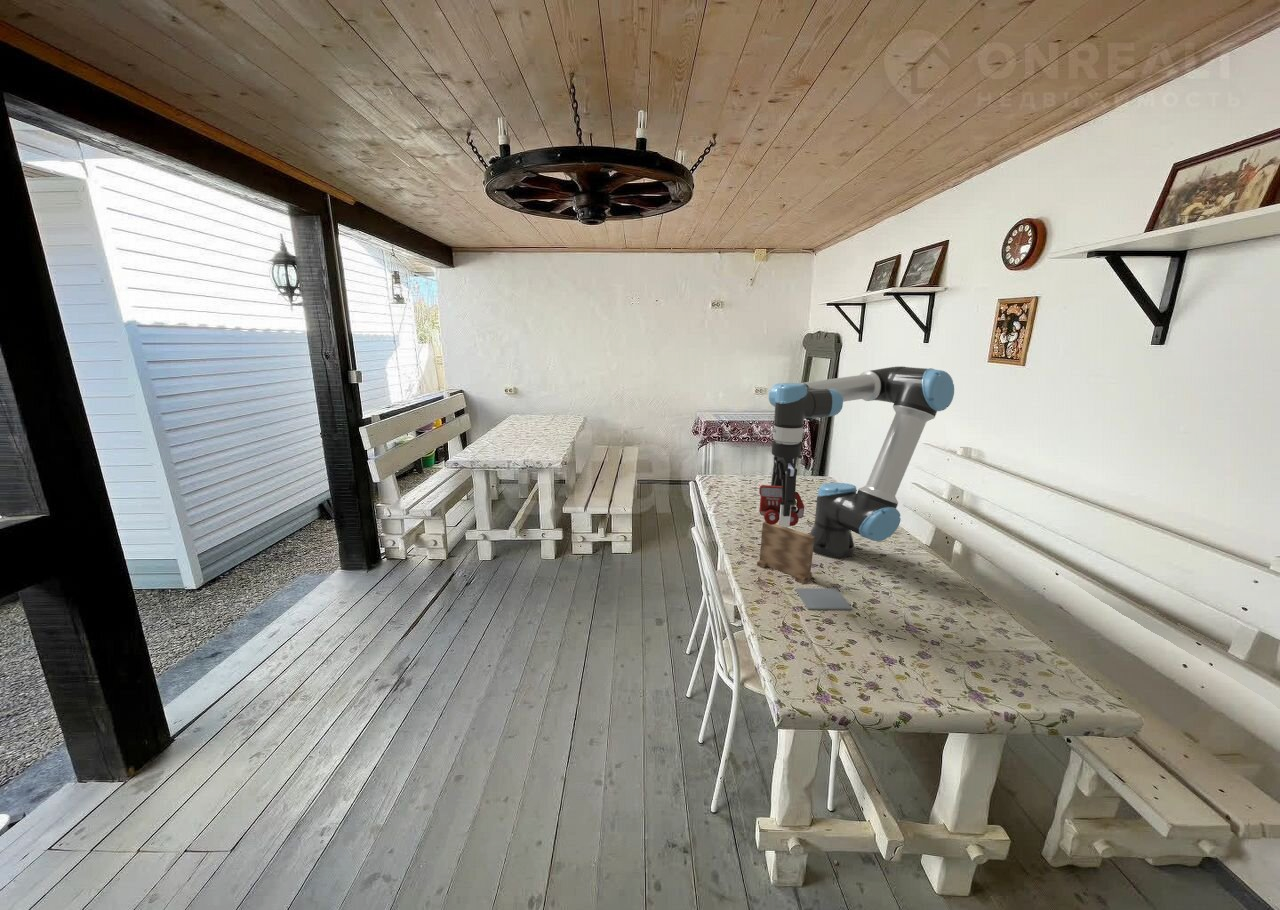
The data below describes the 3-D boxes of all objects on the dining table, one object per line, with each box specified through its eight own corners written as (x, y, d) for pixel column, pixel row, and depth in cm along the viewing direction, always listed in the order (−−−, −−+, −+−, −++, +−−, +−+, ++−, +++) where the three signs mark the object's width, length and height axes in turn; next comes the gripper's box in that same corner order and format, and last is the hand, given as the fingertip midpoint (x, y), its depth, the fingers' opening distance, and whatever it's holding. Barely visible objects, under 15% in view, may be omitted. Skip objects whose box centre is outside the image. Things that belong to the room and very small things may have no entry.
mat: (836, 589, 135) (836, 588, 135) (852, 609, 125) (852, 608, 125) (795, 589, 135) (795, 588, 135) (807, 609, 125) (807, 608, 125)
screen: (756, 565, 149) (759, 524, 145) (765, 558, 153) (769, 519, 149) (803, 583, 138) (808, 540, 134) (812, 576, 142) (817, 534, 138)
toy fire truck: (804, 527, 127) (808, 491, 124) (758, 524, 129) (760, 488, 126) (800, 517, 134) (804, 483, 131) (756, 514, 136) (758, 481, 133)
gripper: (763, 433, 135) (758, 506, 141) (783, 450, 115) (776, 535, 121) (789, 433, 135) (783, 506, 141) (814, 450, 115) (805, 535, 121)
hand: (779, 519), depth 131 cm, fingers closed on toy fire truck, 7 cm apart
